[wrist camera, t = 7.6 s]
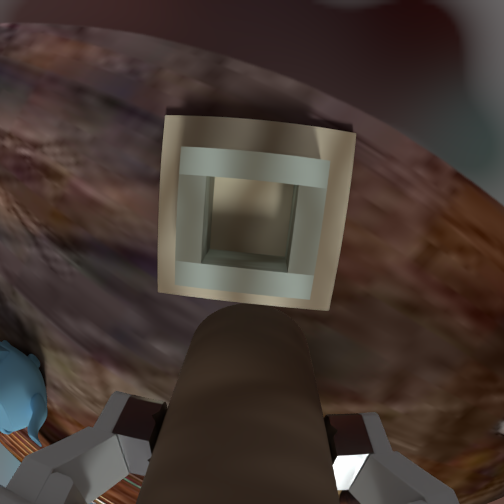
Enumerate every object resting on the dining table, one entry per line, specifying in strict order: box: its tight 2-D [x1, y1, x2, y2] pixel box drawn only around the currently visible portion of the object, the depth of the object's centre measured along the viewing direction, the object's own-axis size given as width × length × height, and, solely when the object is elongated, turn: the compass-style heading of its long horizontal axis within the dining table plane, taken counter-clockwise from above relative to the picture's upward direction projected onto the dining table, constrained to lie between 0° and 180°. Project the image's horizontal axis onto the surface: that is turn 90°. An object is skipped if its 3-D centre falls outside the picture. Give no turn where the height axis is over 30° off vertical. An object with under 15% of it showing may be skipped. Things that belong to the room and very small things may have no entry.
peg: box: [136, 304, 340, 504], centre depth 8 cm, size 4×4×8 cm
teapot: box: [0, 340, 47, 446], centre depth 30 cm, size 15×14×11 cm
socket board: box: [158, 115, 356, 311], centre depth 25 cm, size 16×16×5 cm
